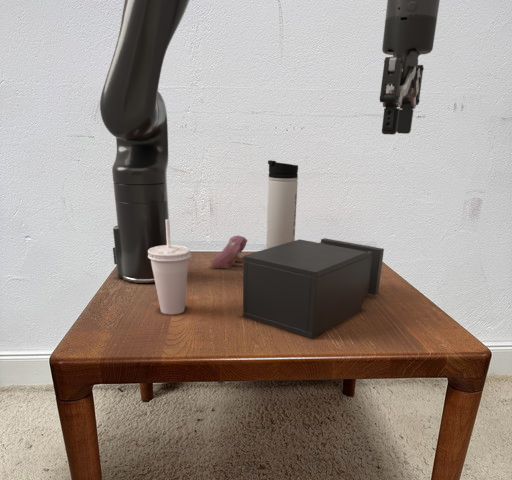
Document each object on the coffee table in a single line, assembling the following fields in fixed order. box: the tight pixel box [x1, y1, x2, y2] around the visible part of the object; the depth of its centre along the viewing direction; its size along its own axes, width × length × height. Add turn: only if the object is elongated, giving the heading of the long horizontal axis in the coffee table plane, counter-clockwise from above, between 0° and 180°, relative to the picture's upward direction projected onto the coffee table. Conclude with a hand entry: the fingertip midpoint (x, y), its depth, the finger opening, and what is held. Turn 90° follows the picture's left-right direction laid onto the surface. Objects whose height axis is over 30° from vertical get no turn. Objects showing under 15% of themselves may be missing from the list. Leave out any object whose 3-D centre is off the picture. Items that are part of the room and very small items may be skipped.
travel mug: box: [265, 159, 299, 249], centre depth 106 cm, size 6×7×20 cm
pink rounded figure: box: [210, 234, 248, 269], centre depth 101 cm, size 10×5×7 cm, turn 168°
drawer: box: [319, 237, 385, 298], centre depth 82 cm, size 18×11×8 cm, turn 141°
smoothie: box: [148, 218, 192, 315], centre depth 74 cm, size 6×6×14 cm
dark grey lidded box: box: [242, 239, 368, 339], centre depth 75 cm, size 15×13×10 cm
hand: (396, 133), depth 80 cm, fingers open, 8 cm apart
